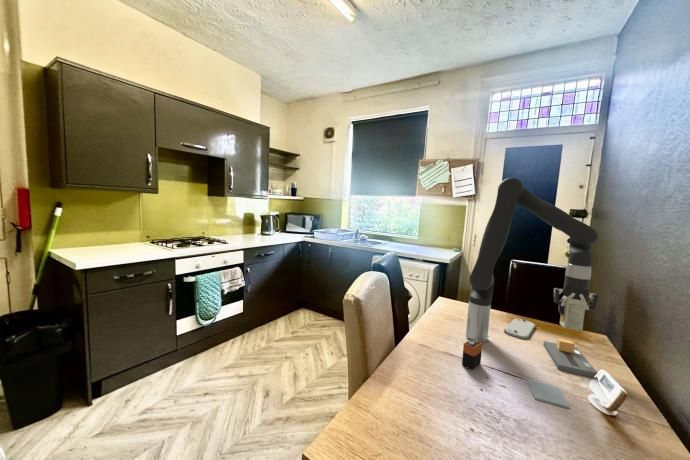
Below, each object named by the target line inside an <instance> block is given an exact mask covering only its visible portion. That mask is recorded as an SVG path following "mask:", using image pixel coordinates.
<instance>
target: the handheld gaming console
mask: <svg viewBox="0 0 690 460" xmlns="http://www.w3.org/2000/svg"><path fill="white" fill-rule="evenodd" d="M535 327H536V324H535V323H533V322H531V321H529V320H526V319H521V318H517V317H513V319H512V320H511V322H510V323H508V325H507V326H506V328H504V331H503V332H504V334H507V335H509V336H512V337H514V338H517V339H521V340H527V339H529V338H530V337H531V334H532V333H533V331H534V329H535Z"/></svg>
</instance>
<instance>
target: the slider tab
mask: <svg viewBox="0 0 690 460" xmlns="http://www.w3.org/2000/svg"><path fill="white" fill-rule="evenodd" d="M556 344H557V348H558V350H560V351H565V352H570V353H574V347H576V346H575V343H574V342H573V340H568V339H565V338H559V337H558V338H557V340H556Z"/></svg>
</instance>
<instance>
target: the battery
mask: <svg viewBox="0 0 690 460" xmlns="http://www.w3.org/2000/svg"><path fill="white" fill-rule="evenodd" d="M462 348H463V349H462V350H463V351H462V361H461V366H463V365H464V366H463V367H465V366H466V367H465V368H467V367H468V368H467V369H469V370H470V369H471V370H470V371H473V370H474V369H476V368H478V367H479V366H481V363H482V351H483V342H478V340H477V339H469V340H468V341H466V342H464V343H463V347H462Z"/></svg>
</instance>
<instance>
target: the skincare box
mask: <svg viewBox="0 0 690 460" xmlns="http://www.w3.org/2000/svg"><path fill="white" fill-rule="evenodd" d="M562 297H564V298H565V299H566V298H567V297H566V296H564V295H563V296H562ZM586 302H587V301H582V300H578V299H567V300H566V303H565V305H564V315H561V314H560V316H559V317H560V318H559V324H560V326H562V327H563V328H564V329H568V330H569V329H570V330H575V331H583V328H584V313H585V305H586Z"/></svg>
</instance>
